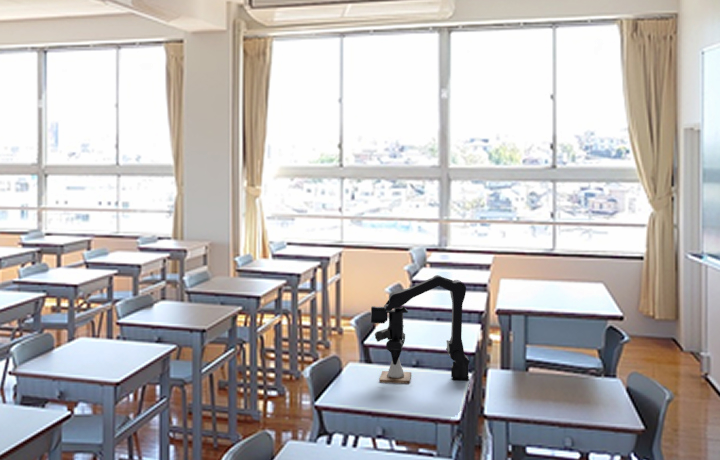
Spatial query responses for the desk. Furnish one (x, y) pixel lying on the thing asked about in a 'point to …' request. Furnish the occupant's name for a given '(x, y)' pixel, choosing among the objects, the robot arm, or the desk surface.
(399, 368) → the flask
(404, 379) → the flat brown panel
